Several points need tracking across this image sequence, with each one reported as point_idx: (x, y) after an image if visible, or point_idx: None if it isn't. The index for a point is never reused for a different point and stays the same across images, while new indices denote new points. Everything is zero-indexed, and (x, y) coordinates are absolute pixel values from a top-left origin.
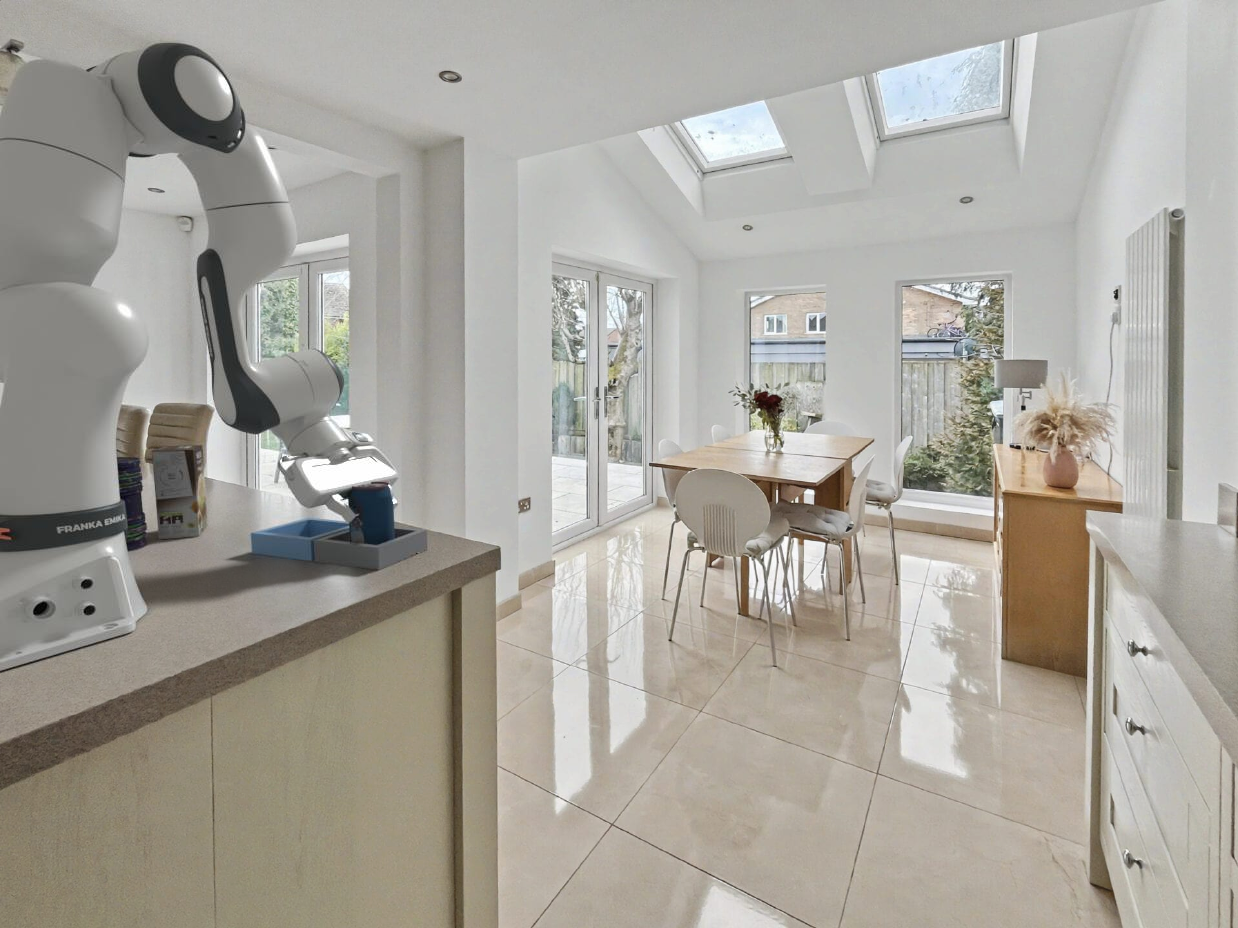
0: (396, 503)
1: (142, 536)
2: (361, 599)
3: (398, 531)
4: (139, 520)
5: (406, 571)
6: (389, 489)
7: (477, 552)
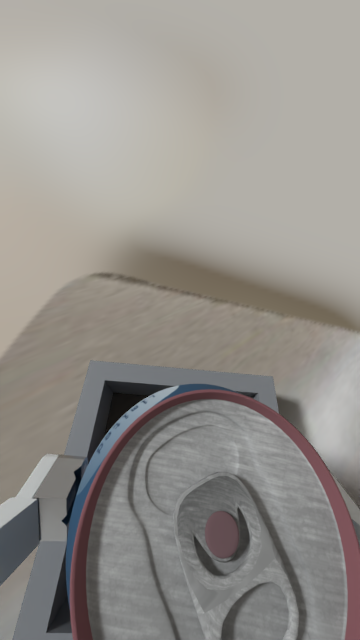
0: (55, 455)
1: None
2: (353, 334)
3: (91, 447)
4: None
5: (237, 341)
6: (171, 396)
7: (105, 287)
